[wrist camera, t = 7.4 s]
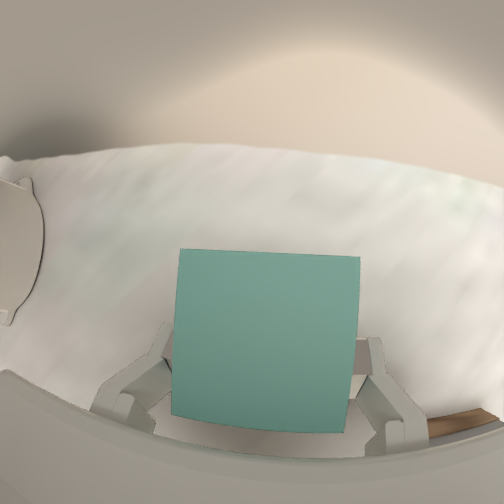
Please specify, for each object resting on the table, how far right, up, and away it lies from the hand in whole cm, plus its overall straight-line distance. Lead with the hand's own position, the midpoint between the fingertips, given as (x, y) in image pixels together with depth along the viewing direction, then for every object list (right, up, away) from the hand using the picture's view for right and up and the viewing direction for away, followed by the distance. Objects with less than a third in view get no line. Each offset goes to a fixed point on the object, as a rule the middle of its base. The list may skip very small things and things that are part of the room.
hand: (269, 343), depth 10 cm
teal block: (+1, -1, +5) cm, 5 cm away
